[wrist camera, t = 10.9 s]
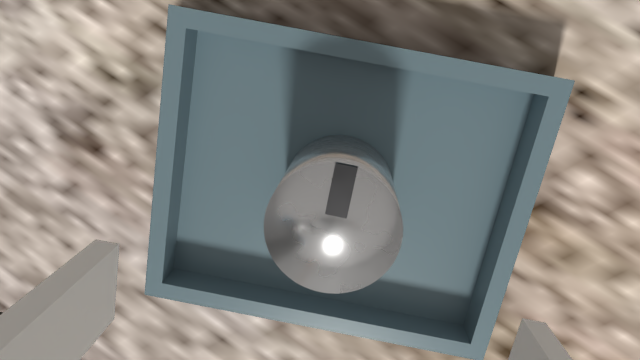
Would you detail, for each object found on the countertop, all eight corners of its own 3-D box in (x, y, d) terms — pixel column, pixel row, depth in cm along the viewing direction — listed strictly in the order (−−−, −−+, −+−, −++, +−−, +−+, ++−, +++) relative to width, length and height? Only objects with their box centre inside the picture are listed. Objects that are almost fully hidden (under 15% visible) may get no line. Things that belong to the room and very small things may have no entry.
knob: (277, 226, 30) (252, 280, 23) (295, 125, 28) (274, 150, 21) (379, 246, 30) (385, 308, 23) (403, 146, 28) (419, 180, 21)
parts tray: (160, 274, 32) (144, 294, 29) (185, 7, 27) (168, 4, 25) (472, 335, 32) (482, 361, 29) (554, 77, 27) (574, 80, 24)
